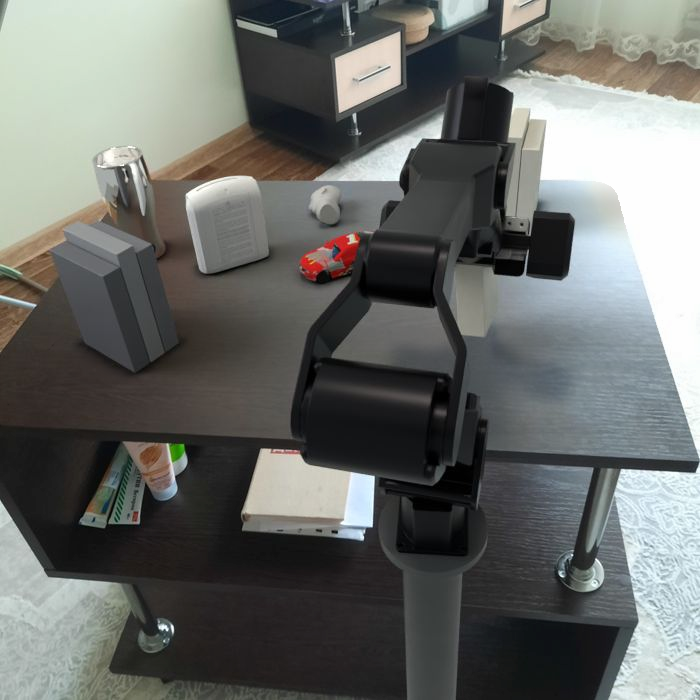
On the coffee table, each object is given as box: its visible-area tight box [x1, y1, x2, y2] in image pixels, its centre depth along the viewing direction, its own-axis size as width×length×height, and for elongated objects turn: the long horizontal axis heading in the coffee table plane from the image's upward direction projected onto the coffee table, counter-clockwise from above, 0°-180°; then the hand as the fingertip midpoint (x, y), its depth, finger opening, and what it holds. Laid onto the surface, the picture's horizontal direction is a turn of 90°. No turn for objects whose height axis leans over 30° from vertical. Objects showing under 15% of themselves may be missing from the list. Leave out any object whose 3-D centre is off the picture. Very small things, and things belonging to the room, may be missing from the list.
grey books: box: [49, 219, 180, 374], centre depth 85 cm, size 10×7×15 cm
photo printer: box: [185, 175, 270, 275], centre depth 99 cm, size 10×4×12 cm, turn 117°
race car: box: [298, 230, 376, 284], centre depth 98 cm, size 13×5×4 cm, turn 111°
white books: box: [506, 107, 547, 236], centre depth 102 cm, size 10×7×14 cm
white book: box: [454, 264, 500, 338], centre depth 79 cm, size 7×3×13 cm, turn 158°
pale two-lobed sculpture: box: [308, 184, 342, 226], centre depth 110 cm, size 4×8×5 cm
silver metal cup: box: [92, 145, 167, 260], centre depth 101 cm, size 7×7×15 cm
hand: (478, 258), depth 80 cm, fingers closed on white book, 3 cm apart
